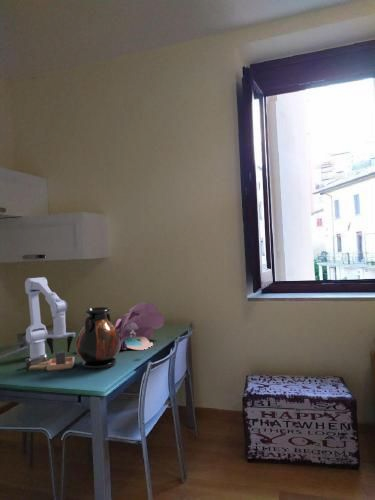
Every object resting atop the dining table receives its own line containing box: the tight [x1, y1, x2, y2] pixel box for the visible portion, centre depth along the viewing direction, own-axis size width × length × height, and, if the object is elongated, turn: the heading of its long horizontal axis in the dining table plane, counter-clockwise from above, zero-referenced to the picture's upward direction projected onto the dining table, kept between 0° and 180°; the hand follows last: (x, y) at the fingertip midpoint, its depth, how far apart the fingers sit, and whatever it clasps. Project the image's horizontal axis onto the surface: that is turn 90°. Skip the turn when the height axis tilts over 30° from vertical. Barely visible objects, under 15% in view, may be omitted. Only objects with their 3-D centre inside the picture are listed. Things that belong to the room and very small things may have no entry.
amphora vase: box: [76, 306, 121, 371], centre depth 173 cm, size 22×22×28 cm
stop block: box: [55, 350, 66, 365], centre depth 174 cm, size 4×4×6 cm
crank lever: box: [24, 355, 48, 367], centre depth 177 cm, size 12×4×4 cm, turn 152°
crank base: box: [27, 359, 50, 372], centre depth 175 cm, size 12×8×1 cm, turn 12°
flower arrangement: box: [115, 301, 165, 351], centre depth 206 cm, size 35×24×28 cm
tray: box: [45, 356, 75, 372], centre depth 174 cm, size 12×12×2 cm
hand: (60, 352), depth 174 cm, fingers open, 7 cm apart
